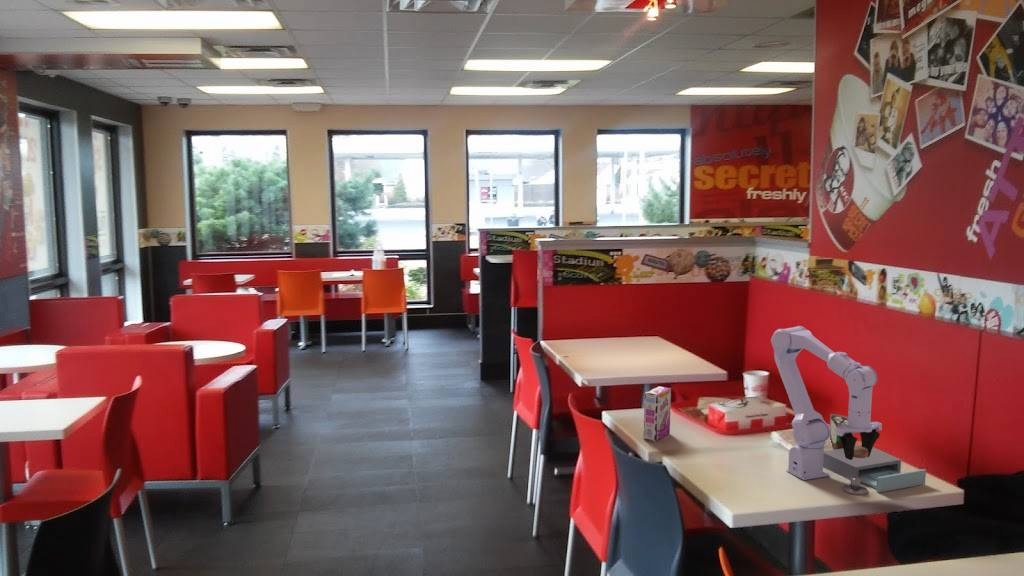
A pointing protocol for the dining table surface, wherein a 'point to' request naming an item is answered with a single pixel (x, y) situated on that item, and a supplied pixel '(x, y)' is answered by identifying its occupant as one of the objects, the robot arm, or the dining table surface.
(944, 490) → the dining table surface
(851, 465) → the cabinet
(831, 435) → the food container
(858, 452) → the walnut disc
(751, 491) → the dining table surface
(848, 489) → the disc stand
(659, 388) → the candy bar box
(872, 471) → the drawer
